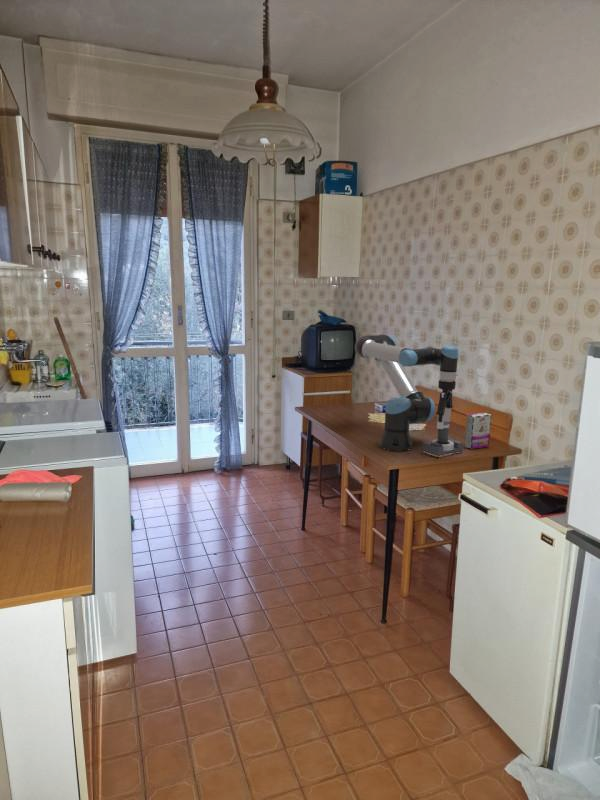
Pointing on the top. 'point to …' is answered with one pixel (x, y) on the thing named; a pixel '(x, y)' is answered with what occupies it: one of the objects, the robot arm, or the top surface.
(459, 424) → the top surface
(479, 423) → the candy bar box
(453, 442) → the camera body
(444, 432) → the lens
